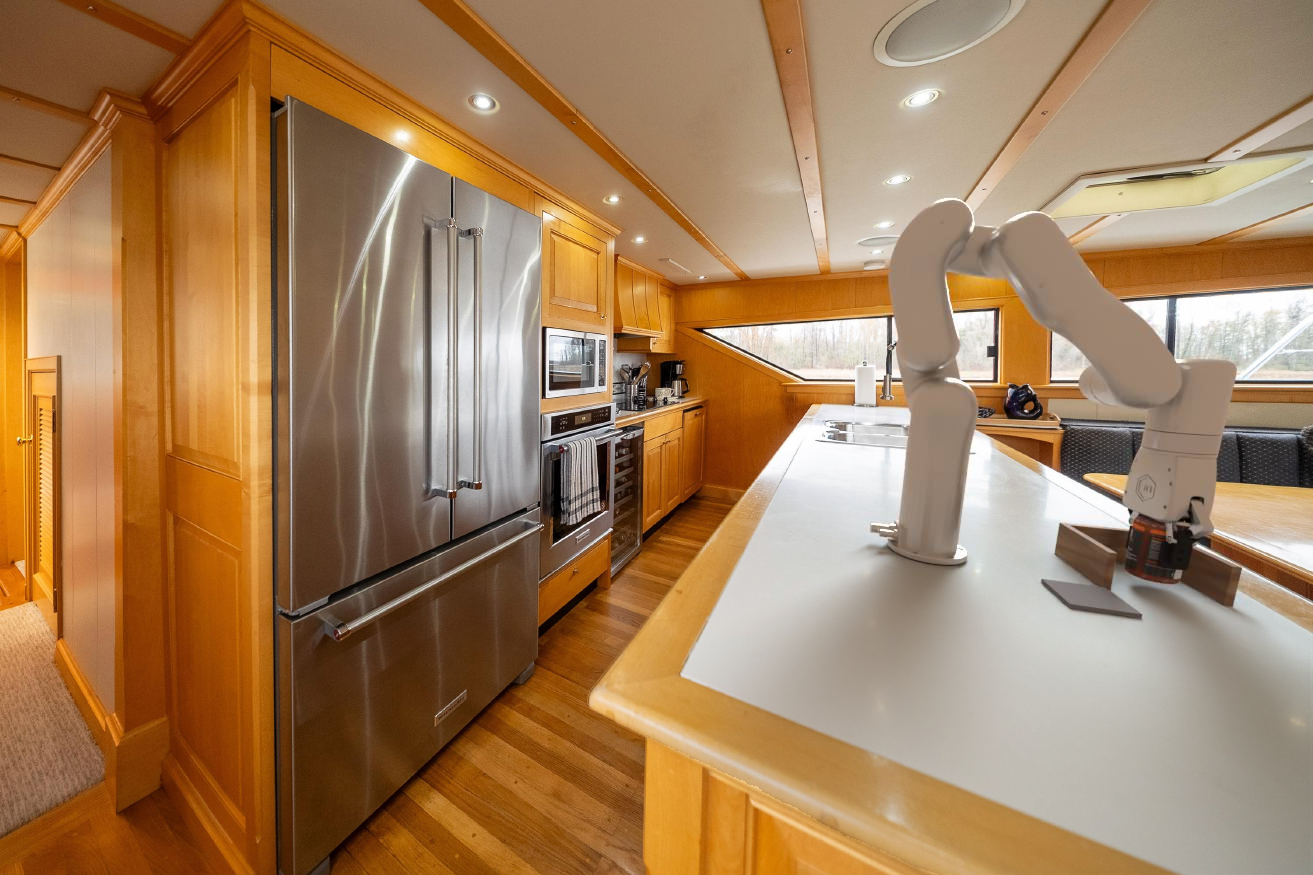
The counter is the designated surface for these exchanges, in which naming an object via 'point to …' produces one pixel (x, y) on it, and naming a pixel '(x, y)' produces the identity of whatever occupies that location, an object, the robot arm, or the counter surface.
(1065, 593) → the mat
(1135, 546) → the supplement bottle
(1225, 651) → the counter surface
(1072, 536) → the angled wooden boards
